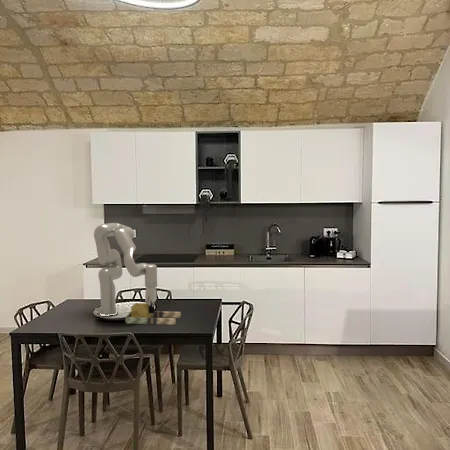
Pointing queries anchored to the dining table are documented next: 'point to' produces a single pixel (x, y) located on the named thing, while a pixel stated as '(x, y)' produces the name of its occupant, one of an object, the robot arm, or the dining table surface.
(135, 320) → the track
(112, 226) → the robot arm
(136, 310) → the cheese
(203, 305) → the dining table surface
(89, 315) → the dining table surface
